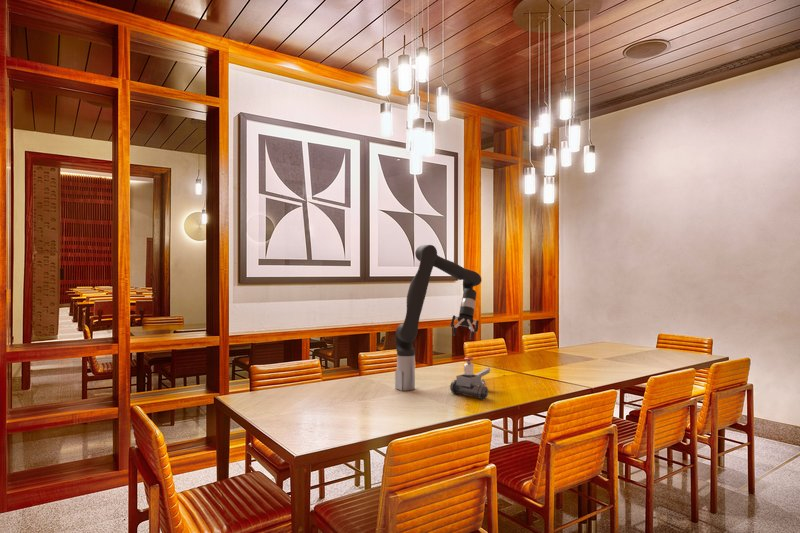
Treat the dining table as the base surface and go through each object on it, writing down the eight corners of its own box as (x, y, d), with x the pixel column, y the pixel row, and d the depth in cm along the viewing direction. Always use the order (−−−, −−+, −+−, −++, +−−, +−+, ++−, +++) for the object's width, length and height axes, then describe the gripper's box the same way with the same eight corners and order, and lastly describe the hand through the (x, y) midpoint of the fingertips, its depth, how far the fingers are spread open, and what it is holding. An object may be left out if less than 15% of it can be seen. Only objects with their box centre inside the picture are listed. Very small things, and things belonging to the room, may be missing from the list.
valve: (468, 383, 235) (468, 359, 235) (462, 382, 238) (462, 357, 238) (475, 382, 237) (475, 358, 237) (469, 381, 241) (469, 357, 241)
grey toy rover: (489, 398, 234) (489, 377, 234) (478, 401, 228) (478, 380, 228) (459, 391, 247) (459, 371, 247) (448, 394, 241) (448, 374, 241)
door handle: (461, 401, 250) (496, 384, 246) (453, 387, 251) (488, 369, 247) (465, 392, 267) (497, 376, 263) (457, 379, 268) (490, 362, 264)
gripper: (455, 303, 258) (449, 332, 252) (481, 308, 257) (477, 338, 251) (453, 307, 265) (448, 336, 259) (479, 313, 264) (474, 342, 258)
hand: (462, 337), depth 255 cm, fingers open, 8 cm apart
